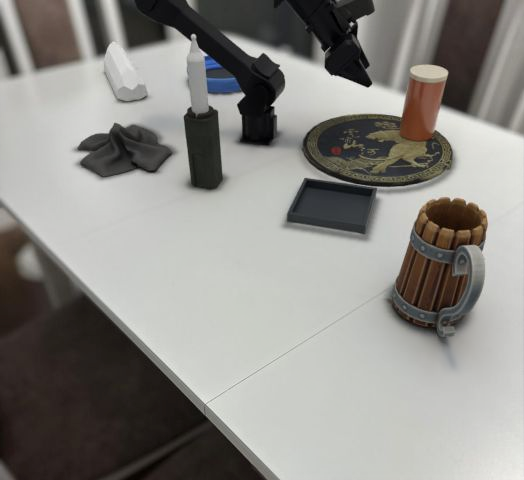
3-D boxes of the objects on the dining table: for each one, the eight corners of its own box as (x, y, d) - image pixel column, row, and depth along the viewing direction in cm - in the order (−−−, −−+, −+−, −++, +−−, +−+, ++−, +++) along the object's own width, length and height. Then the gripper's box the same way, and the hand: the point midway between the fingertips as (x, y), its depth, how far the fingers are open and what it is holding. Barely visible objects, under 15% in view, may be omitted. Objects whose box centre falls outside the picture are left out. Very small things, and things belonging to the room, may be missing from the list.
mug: (382, 283, 79) (400, 193, 68) (451, 278, 80) (480, 189, 69) (411, 360, 69) (438, 269, 58) (490, 354, 69) (531, 263, 58)
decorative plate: (291, 174, 98) (313, 107, 118) (291, 183, 99) (312, 115, 119) (457, 190, 94) (450, 118, 114) (454, 200, 95) (448, 127, 115)
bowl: (258, 94, 128) (258, 79, 125) (184, 94, 128) (182, 79, 126) (259, 67, 140) (259, 52, 138) (191, 67, 141) (190, 53, 138)
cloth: (179, 168, 104) (175, 138, 99) (82, 184, 100) (73, 153, 96) (159, 121, 118) (155, 93, 114) (74, 133, 115) (66, 104, 110)
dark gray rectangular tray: (286, 226, 90) (287, 213, 88) (304, 189, 98) (304, 177, 96) (363, 238, 87) (365, 225, 85) (375, 200, 95) (377, 187, 93)
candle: (224, 177, 101) (214, 30, 83) (214, 190, 98) (201, 41, 80) (200, 172, 103) (185, 27, 84) (189, 185, 99) (171, 37, 81)
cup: (420, 144, 106) (434, 81, 97) (391, 133, 109) (402, 71, 100) (440, 133, 109) (455, 71, 100) (411, 122, 112) (423, 61, 104)
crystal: (92, 54, 137) (107, 88, 121) (113, 36, 136) (131, 68, 120) (112, 79, 142) (129, 114, 127) (132, 61, 141) (152, 95, 126)
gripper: (352, -17, 81) (410, 61, 89) (349, -44, 94) (400, 27, 101) (299, 39, 88) (357, 108, 95) (302, 6, 100) (354, 70, 108)
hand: (369, 76), depth 100 cm, fingers open, 9 cm apart
